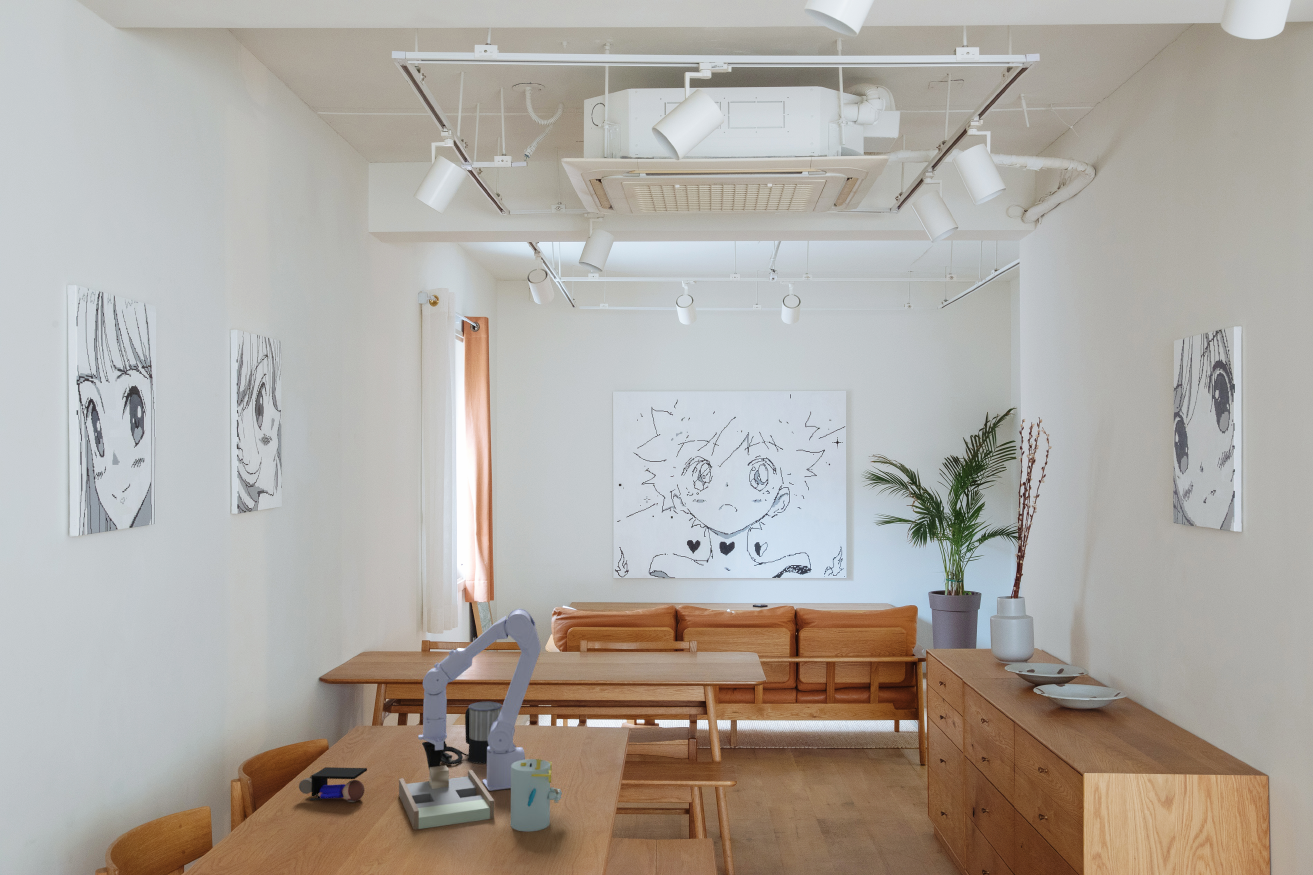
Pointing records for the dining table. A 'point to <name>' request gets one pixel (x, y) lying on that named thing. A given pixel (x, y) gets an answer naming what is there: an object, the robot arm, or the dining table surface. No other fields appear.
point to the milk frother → (476, 732)
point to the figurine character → (323, 791)
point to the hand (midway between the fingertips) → (433, 771)
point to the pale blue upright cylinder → (531, 794)
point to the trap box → (446, 802)
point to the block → (439, 777)
